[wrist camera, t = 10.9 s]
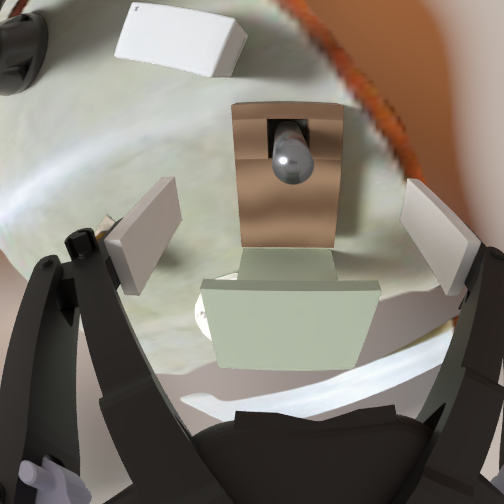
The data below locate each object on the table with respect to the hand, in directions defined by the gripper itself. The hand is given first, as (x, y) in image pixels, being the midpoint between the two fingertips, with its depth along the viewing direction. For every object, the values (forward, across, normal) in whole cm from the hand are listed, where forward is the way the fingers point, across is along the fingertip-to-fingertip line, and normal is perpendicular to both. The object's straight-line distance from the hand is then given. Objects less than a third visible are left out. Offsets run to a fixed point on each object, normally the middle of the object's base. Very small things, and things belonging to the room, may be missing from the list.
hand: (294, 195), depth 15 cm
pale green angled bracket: (+21, 0, +14) cm, 25 cm away
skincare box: (+21, +10, -12) cm, 26 cm away
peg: (+21, 0, 0) cm, 21 cm away
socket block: (+21, 0, +5) cm, 21 cm away
